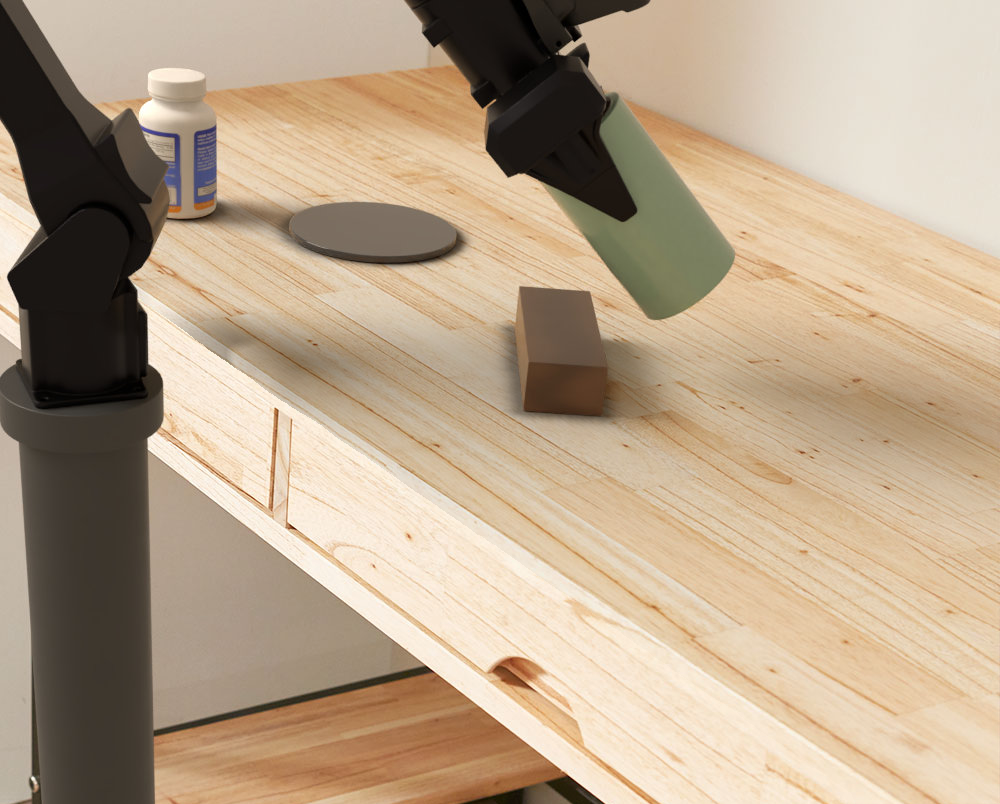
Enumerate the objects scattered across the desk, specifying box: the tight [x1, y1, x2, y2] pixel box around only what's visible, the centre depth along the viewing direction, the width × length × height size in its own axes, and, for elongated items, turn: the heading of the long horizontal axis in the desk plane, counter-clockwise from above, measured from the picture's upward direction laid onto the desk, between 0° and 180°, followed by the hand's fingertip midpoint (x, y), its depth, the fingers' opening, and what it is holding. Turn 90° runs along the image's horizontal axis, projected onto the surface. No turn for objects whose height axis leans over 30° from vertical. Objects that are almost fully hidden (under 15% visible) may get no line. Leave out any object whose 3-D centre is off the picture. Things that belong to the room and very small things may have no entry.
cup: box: [537, 91, 736, 321], centre depth 88 cm, size 13×6×13 cm, turn 92°
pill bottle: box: [138, 67, 218, 220], centre depth 110 cm, size 5×5×10 cm
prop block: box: [514, 285, 609, 417], centre depth 91 cm, size 4×12×3 cm, turn 2°
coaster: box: [288, 201, 457, 264], centre depth 111 cm, size 12×12×1 cm
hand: (624, 197), depth 87 cm, fingers closed on cup, 6 cm apart
